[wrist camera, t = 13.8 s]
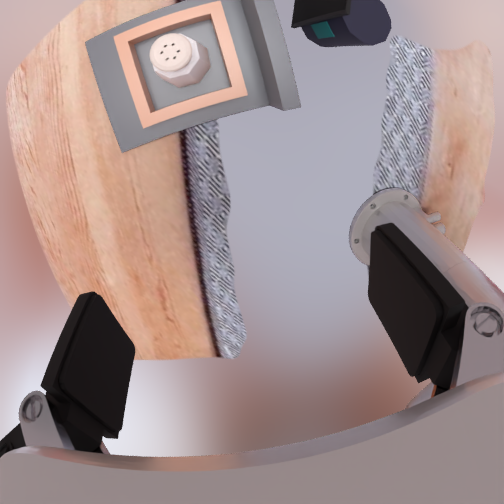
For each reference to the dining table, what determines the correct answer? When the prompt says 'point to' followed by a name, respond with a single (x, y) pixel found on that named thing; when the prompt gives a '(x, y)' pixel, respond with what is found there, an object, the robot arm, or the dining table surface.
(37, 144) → the dining table surface
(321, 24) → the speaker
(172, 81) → the salt shaker
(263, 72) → the gray walled base stand
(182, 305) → the dining table surface
